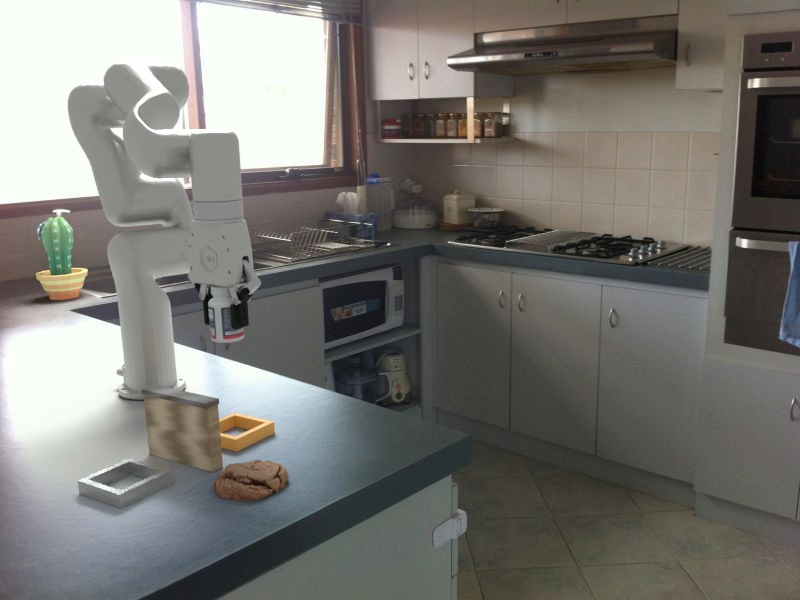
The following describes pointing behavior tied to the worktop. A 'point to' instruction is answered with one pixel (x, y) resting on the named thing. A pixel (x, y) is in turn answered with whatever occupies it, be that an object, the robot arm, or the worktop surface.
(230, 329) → the pill bottle
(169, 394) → the beige brown upright block
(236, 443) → the collar
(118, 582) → the worktop surface
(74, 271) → the potted cactus
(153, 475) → the collar
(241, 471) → the cookie
